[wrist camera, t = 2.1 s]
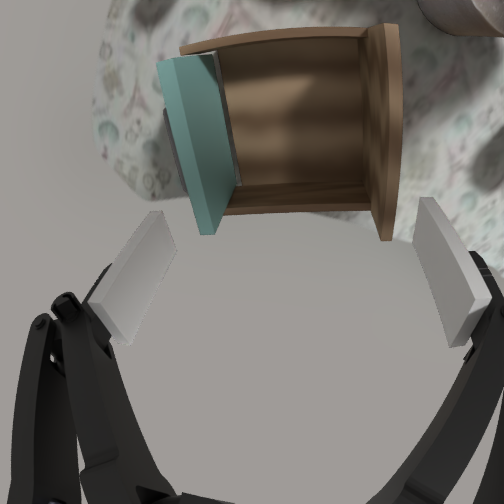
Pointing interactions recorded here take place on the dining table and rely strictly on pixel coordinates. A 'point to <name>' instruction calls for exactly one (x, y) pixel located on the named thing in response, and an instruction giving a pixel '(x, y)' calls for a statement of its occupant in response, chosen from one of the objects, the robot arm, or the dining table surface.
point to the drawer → (314, 119)
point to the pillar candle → (466, 16)
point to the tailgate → (198, 136)
